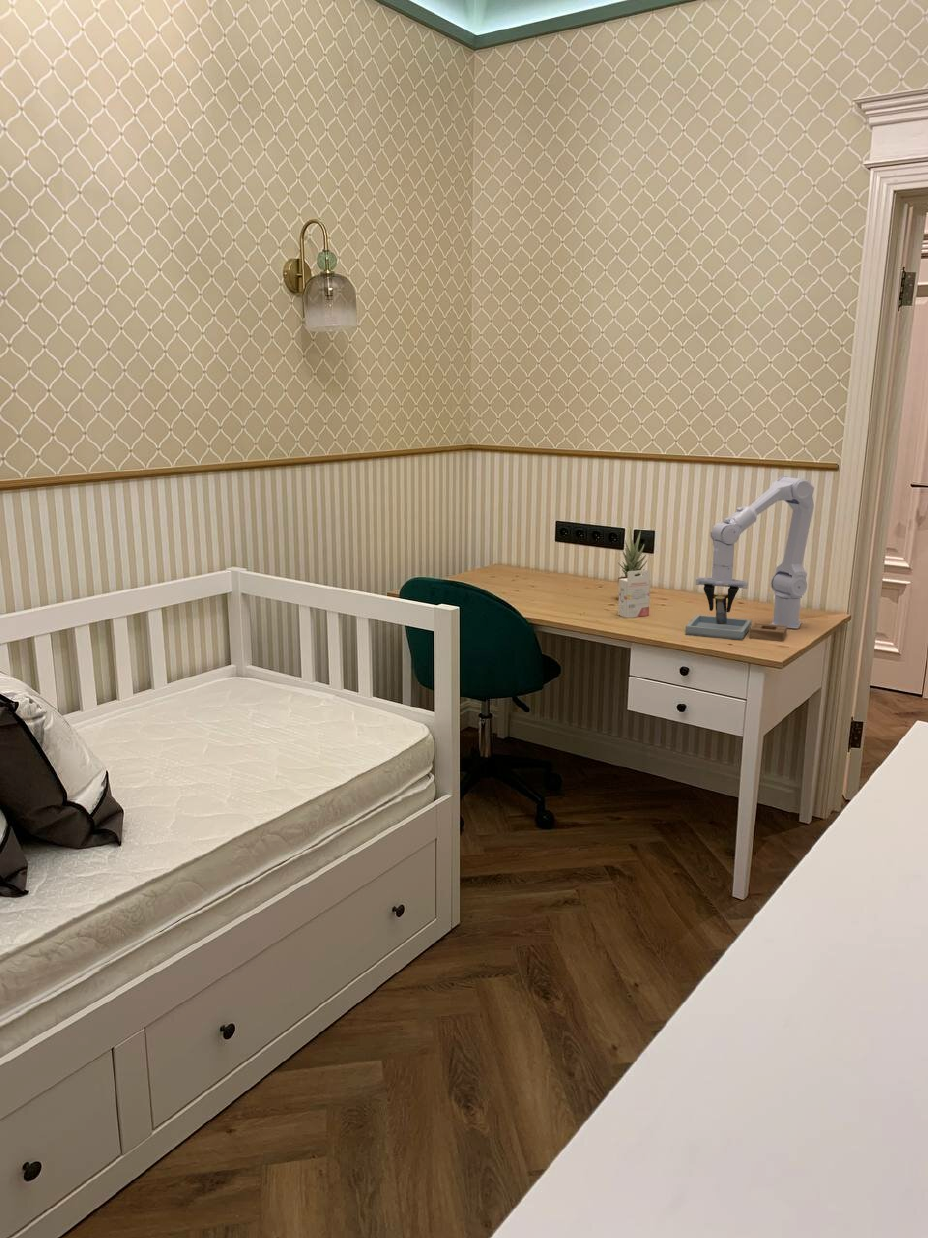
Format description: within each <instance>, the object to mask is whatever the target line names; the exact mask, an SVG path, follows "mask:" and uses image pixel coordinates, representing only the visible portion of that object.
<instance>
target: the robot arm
mask: <svg viewBox="0 0 928 1238" xmlns="http://www.w3.org/2000/svg"><path fill="white" fill-rule="evenodd" d="M814 489H815V487H814V486H813V484H812V483H811V481H809V480H808V479H807V478H799V477H798V478H797V477H789V476H787V475H783V476H780V477H779V478H777V479H776V480H775V481H773V482H772V483H771V485H770V487H769V488H768V489H767V490H766V491H765V492H763V493H762V494H761V495H760V496H759V497H757V498H756V500H755V501H754V502H752V504H750V505H749V506H747V505H746V506H745V505H743V506H738V507H737V508H736V511H735V512H734V513H733V514H731V515H729V516H728V517H726V518H724V521H722V522H718V523H715V524H714V526H713V527H712V529H711V531H709V535H710V539H711V541H712V546H713V549H712V550H713V551H712V568H711V577H700V576H699V577H696V578H695V586H703V591H704V594H705V595H706V599H707V602H708V607H709V612H712V611H713V610H714V606H715V604H714V598H713V595H714V594H715V589H716V587H725V588H727V594H728V598H727V602H726V612H727V613H730V612H731V608H732V604H733V602H734V599H735V597H736V595H737V593H738V591H740V589H743V590H746V589H748V588H749V587H748V586H749V581H748V580H739V579H733V568H734V555H735V553H734V552H735V543H737V542H738V541H739V539H740V535H741V534H743V532H745V531H746V530H747V529H749V528H750V527H751V526H752V525H754V524H755V523H756V522H757V518H758V517H757V516H758V515H760V514H761V513H762V512H764V511H765V510H767V509H768V508H770V507H771V506H773V505H774V504H775V503H777V502H779V501H785V502H786V503H787V504H788V506H789V507H790V508H791V510H792V513H791V519H790V523H789V529H788V533H787V540H786V544H785V548H784V554H783V560H782V562H781V563H780V564H779V565H778V566H776V569H775V572H774V574H773V575H772V577H771V579H770V587H771V589H772V590H773V591H774V593H773V594H774V595H775V597H774V607H773V608H774V609H773V620H772V621H771V622H770V624H772V625H783V626H787V629H794V630H795V629H796V630H797V629H800V626H801V624H802V620H800V611H801V609H800V607H801V599H802V598H803V595H805V593H806V591H807V590H808V583H807V581H808V580H807V577H808V576H807V575H808V574H807V571H806V570H805V568H804V566H803V561H804V557H805V552H806V548H807V542H808V536H809V532H810V527H811V522H812V517H813V512H814V507H815V506H814V498H813V494H814Z"/></svg>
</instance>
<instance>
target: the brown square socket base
mask: <svg viewBox="0 0 928 1238" xmlns="http://www.w3.org/2000/svg"><path fill="white" fill-rule="evenodd" d="M787 630H788V628H787V626H783V625H772V624H771V623H760V622H754V623H753V625H751V629H750V630H749V639H756V640H757V639H758V640H764V641H776V642H784V640H785V638H786V636H787V633H788V632H787Z"/></svg>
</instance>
